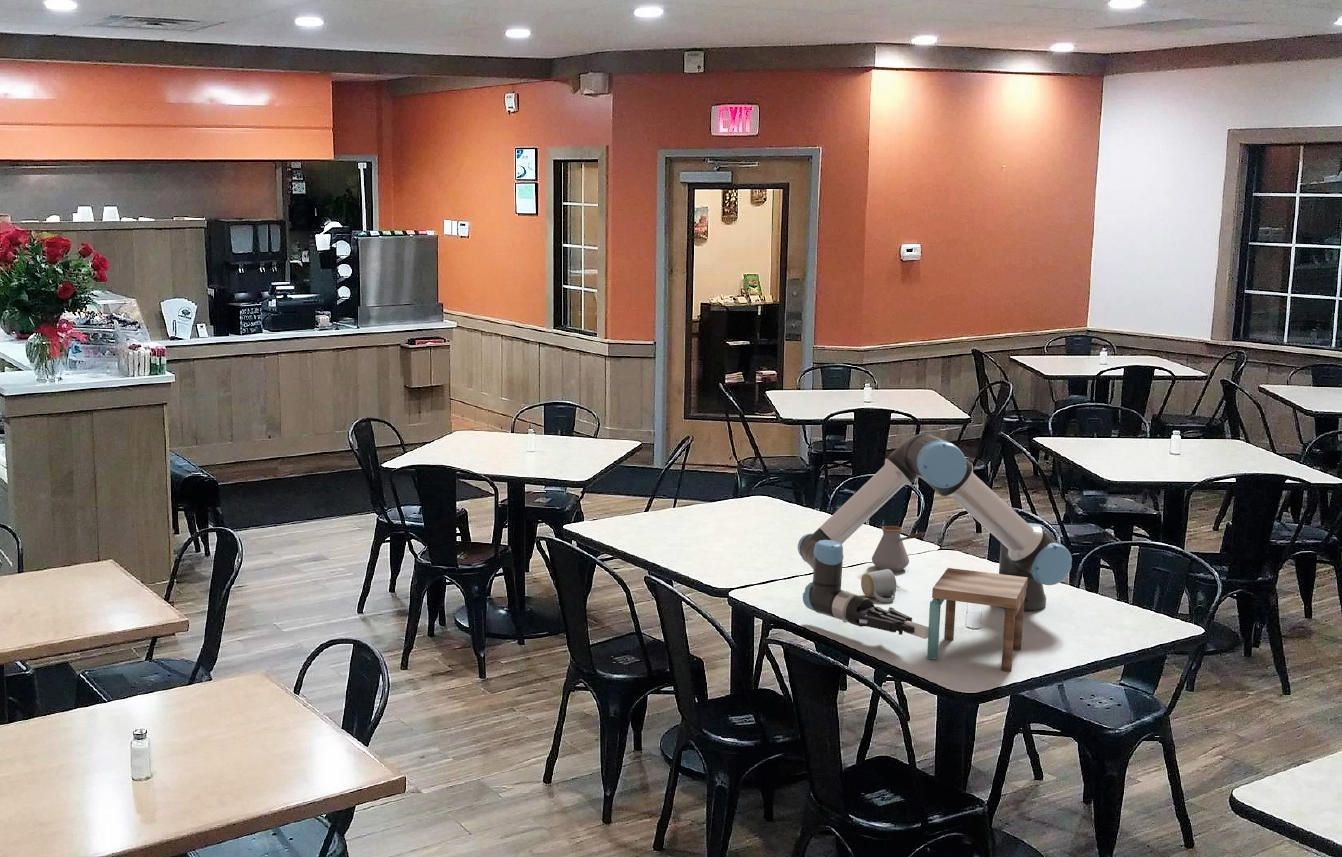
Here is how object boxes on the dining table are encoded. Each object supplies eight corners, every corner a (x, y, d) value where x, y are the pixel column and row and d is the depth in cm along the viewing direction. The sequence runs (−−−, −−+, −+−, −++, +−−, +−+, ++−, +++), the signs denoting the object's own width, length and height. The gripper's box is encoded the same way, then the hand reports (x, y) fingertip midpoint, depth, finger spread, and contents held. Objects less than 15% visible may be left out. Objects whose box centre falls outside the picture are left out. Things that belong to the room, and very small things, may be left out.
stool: (944, 636, 337) (947, 567, 334) (1022, 647, 330) (1027, 577, 326) (928, 660, 319) (932, 588, 316) (1011, 672, 311) (1016, 598, 308)
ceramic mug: (858, 593, 373) (859, 568, 372) (883, 591, 376) (884, 565, 375) (876, 605, 364) (878, 578, 362) (902, 602, 367) (903, 576, 365)
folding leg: (938, 638, 334) (941, 582, 331) (948, 640, 333) (951, 583, 330) (926, 658, 319) (929, 599, 317) (936, 659, 318) (939, 600, 316)
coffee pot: (863, 566, 402) (865, 519, 400) (892, 562, 408) (894, 515, 406) (908, 584, 384) (911, 535, 382) (938, 579, 390) (940, 530, 387)
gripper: (869, 618, 340) (942, 642, 323) (836, 627, 332) (909, 652, 314) (871, 591, 339) (944, 613, 322) (837, 599, 331) (911, 623, 313)
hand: (926, 633), depth 318 cm, fingers closed
